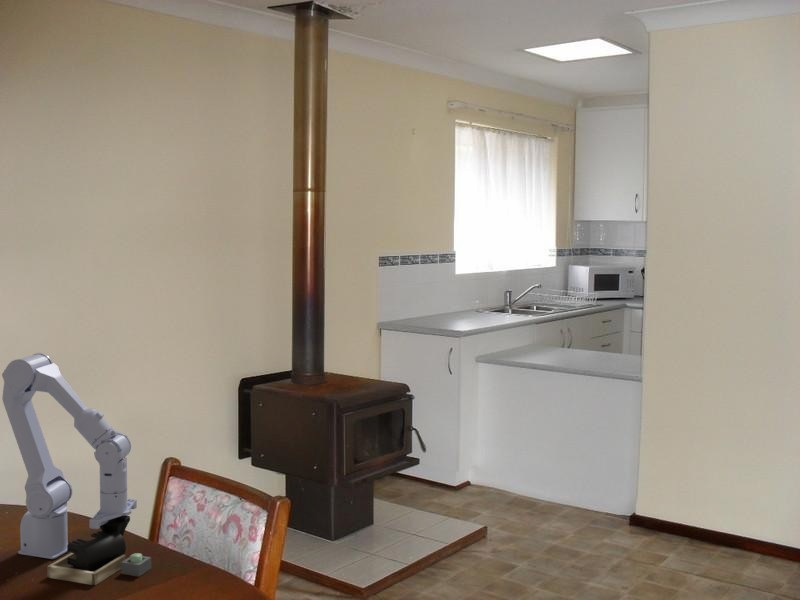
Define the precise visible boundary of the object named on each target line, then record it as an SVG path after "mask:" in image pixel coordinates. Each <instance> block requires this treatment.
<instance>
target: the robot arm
mask: <svg viewBox="0 0 800 600" xmlns="http://www.w3.org/2000/svg"><path fill="white" fill-rule="evenodd" d="M1 377H2V379H3V388H2V389H3V390H2V404H3V406H4V409H5V411H6V414H7V417H8V420H9V424H10V426H11V429H12V432H13V434H14V437H15V440H16V444H17V445H18V446H17V447H18V450H19V452H20V455H21V457H22V458H21V459H22V461H23V464H24V466H25V470H26V471H27V474H28V475H27V479H26V482H25V485H24V490H25V497H26V499H25V505H26V506H25V507H26V509H27V511H26V512H25V513H24V514H23V516H22V518H21V520H20V527H19V531H20V533H19V534H20V549H19V550H18V551H17V553H18V554H19V555H24V556H29V557H37V558H44V559H50V560H54V559H57V558H59V557H60V556H62V555H64V554H65V553H67V552H68V551H67V545H68V543H69V542H68V541H69V539H68V537H69V536H68V502H69V501H70V500H71V498H72V495H73V488H72V487H73V486H72V485H71V483H70V482H69V481H68V479H66V477H65V476H64V473H63V471H62V470H61V469H60V468H58V467H57V466H55V464H54V463H53V460H52V456H51V453H50V451H49V449H48V445H47V442H46V439H45V436H44V433H43V431H42V427H41V425H40V422H39V419H38V417H37V413H36V410H35V407H34V404H33V402H32V399H33V397H34V395H35V394H36V392H42V393H48V394H49V395H51V397H53V399H54V400H55V401H57V403H58V404H59V405H61V407H62V408H63V409H64V410H65V411H66V412H67V413H68V414H69V415H70V416H71V417H73V426H74V428H75V429H76V430H77V432H79V434H80V435H81V436H82V437H83V438H84V439H85V440H86V442H87V443H88V444H89V445H90V446H91V447H92V449H94V450H95V451H94V453H93V454H94V459H95V460H96V461H97V463H98V465H99V510H98V511H97V512H96V513H95V514H94V516H93V517H92V518H90V519H89V529H91V530H99V529H100V531H102V532H105V533H112V532H115V531H117V532H119V533H120V534H121V535H122V536H123V537H124V534H125V532H126V528H127V526H128V525H129V523H130V521H131V516H130V515H131V514H132V513H133V512H132V510H135V509H137V507H138V505H137V504H138V503H137V499H133V498H128V458H127V456H128V455H129V454H130V452H131V450H132V444H131V441H130V439H129V438H128V436H127V435H126V433H125V434H124V433H123V432H119V431H118V430H117V429H116V428H113V427H112V425H110V423H108V421H107V420H106V419H105V418H104V415H105V414H104V413H103V412H102V411H101V410H100V411H98V409H96V408H90V407H87V405H86V404H85V403H84V402H83V401H82V399H81V398H80V397H79V396H78V394H77V393H76V392H75V391H74V389H73V388H72V387H71V386H70V384H69V383H68V381H66V379H65V378H64V376H63V375H62V373H61V371H60V368H59V365H57V364H56V363H54V362H53V360H52V359H51V357H49V355H47V354H45V353H41V352H38V353H34V354H32V355H29V356H26V357H22V358H17V359H14V360H11V361H10V362H9V363H8V365H6V367H5V369H4V370H3V372H2V373H1ZM68 553H69V552H68Z"/></svg>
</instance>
